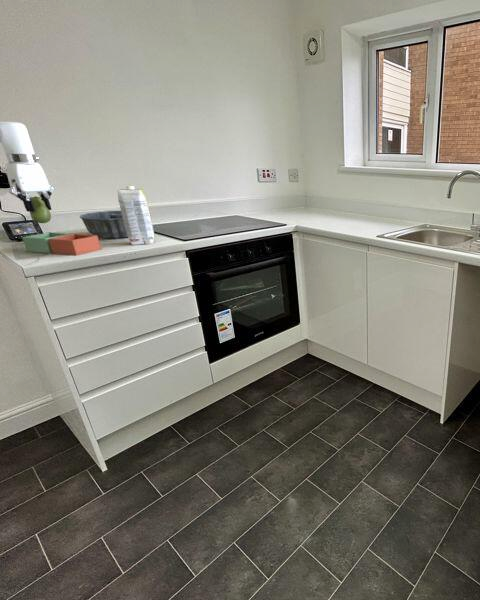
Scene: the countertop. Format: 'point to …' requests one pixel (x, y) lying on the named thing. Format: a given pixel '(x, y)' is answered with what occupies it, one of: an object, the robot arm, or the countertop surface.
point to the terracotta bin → (74, 244)
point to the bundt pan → (105, 224)
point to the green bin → (41, 242)
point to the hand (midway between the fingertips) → (39, 210)
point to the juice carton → (136, 215)
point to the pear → (40, 211)
